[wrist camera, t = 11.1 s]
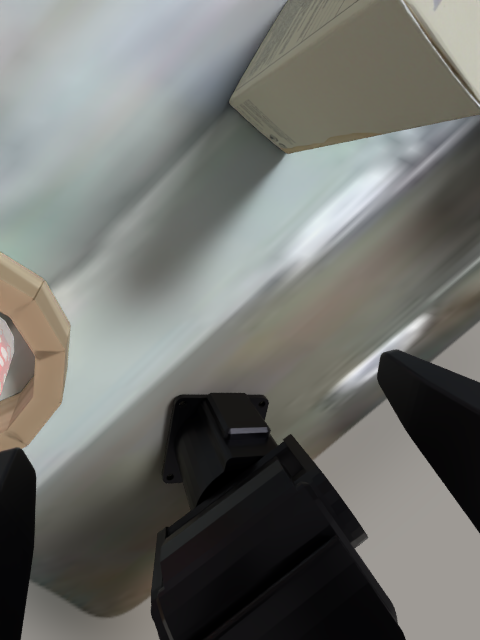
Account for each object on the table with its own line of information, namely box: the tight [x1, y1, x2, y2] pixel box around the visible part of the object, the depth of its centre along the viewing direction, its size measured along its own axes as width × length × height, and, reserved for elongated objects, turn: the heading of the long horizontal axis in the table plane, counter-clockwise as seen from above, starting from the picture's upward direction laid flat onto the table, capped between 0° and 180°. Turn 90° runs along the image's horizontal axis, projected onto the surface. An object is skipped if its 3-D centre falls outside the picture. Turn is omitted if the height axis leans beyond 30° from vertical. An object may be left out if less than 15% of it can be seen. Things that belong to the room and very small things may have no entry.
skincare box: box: [229, 0, 480, 154], centre depth 14 cm, size 6×4×12 cm
